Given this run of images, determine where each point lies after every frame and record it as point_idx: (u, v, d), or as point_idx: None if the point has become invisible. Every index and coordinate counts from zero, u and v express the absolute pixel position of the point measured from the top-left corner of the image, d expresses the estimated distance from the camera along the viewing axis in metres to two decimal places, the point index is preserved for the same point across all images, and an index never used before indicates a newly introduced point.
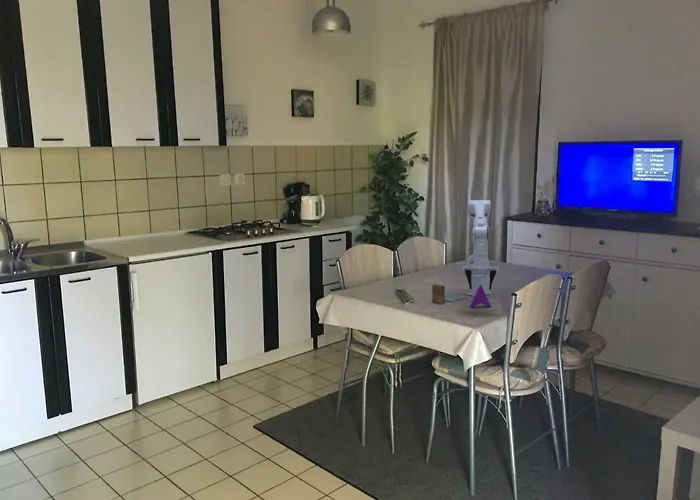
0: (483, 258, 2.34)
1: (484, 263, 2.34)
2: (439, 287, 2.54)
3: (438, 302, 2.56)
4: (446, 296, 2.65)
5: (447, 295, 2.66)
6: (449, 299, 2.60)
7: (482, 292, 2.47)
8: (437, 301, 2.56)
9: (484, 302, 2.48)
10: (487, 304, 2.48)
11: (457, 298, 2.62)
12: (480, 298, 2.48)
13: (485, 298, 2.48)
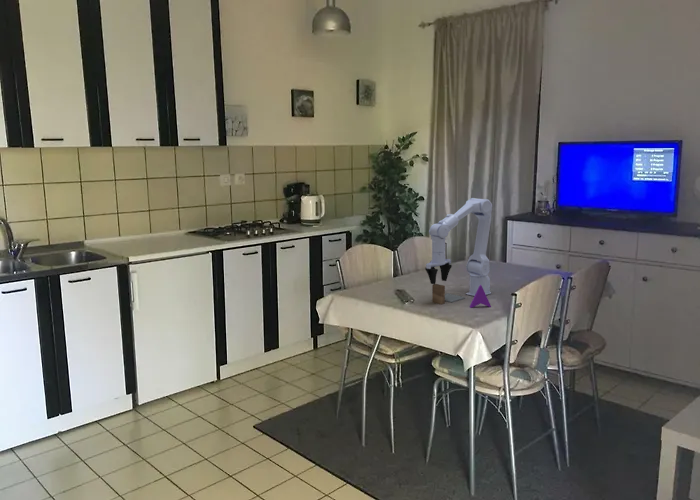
0: None
1: (432, 258, 2.54)
2: (439, 287, 2.54)
3: (438, 302, 2.56)
4: (446, 296, 2.65)
5: (447, 295, 2.66)
6: (449, 299, 2.60)
7: (482, 292, 2.47)
8: (437, 301, 2.56)
9: (484, 302, 2.48)
10: (487, 304, 2.48)
11: (457, 298, 2.62)
12: (480, 298, 2.48)
13: (485, 298, 2.48)
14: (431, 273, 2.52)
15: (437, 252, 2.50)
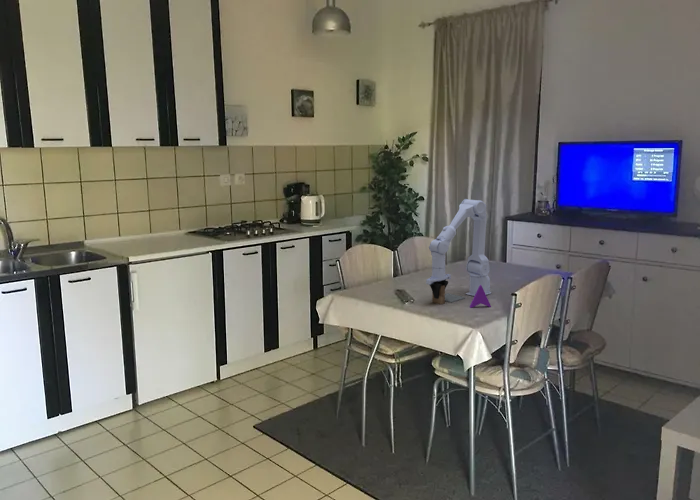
0: None
1: (432, 274, 2.55)
2: None
3: (438, 302, 2.56)
4: (446, 296, 2.65)
5: (447, 295, 2.66)
6: (449, 299, 2.60)
7: (482, 292, 2.47)
8: (437, 301, 2.56)
9: (484, 302, 2.48)
10: (487, 304, 2.48)
11: (457, 298, 2.62)
12: (480, 298, 2.48)
13: (485, 298, 2.48)
14: (434, 288, 2.55)
15: (437, 268, 2.52)
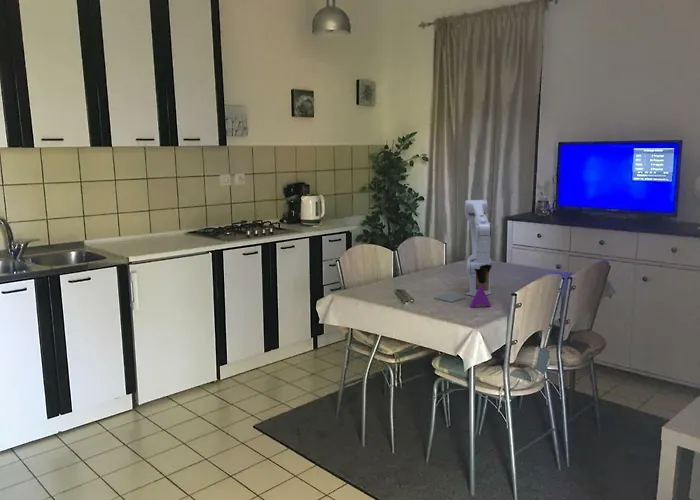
0: (476, 253, 2.51)
1: (476, 258, 2.51)
2: None
3: (483, 289, 2.52)
4: (446, 296, 2.65)
5: (447, 295, 2.66)
6: (449, 299, 2.60)
7: (482, 292, 2.47)
8: None
9: (484, 302, 2.48)
10: (487, 304, 2.48)
11: (457, 298, 2.62)
12: (480, 298, 2.48)
13: (485, 298, 2.48)
14: (480, 272, 2.51)
15: (484, 252, 2.48)
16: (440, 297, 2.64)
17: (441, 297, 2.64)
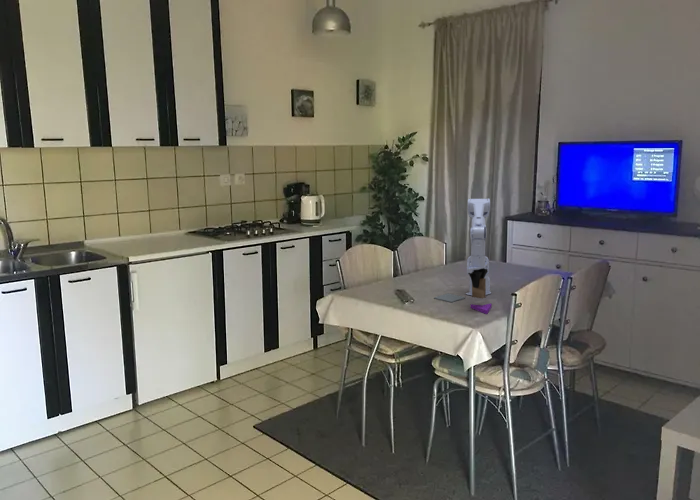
0: (471, 257, 2.44)
1: (471, 262, 2.44)
2: (480, 280, 2.43)
3: (479, 296, 2.44)
4: (446, 296, 2.65)
5: (447, 295, 2.66)
6: (449, 299, 2.60)
7: None
8: (478, 295, 2.44)
9: None
10: None
11: (457, 298, 2.62)
12: None
13: None
14: (474, 276, 2.43)
15: (477, 255, 2.40)
16: (440, 297, 2.64)
17: (441, 297, 2.64)
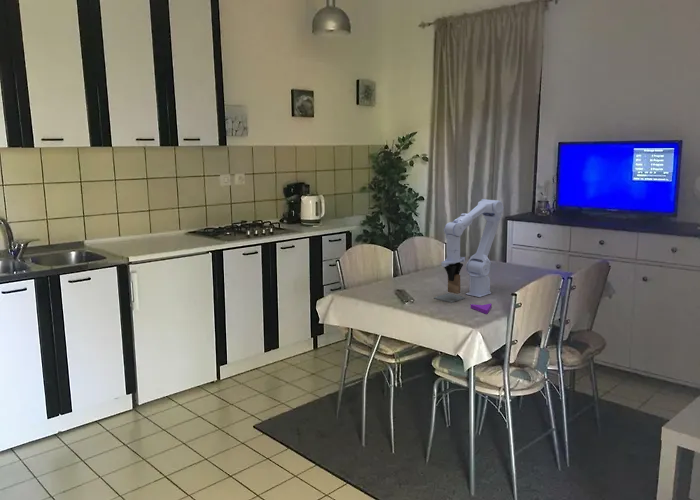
0: (447, 251, 2.57)
1: None
2: (455, 276, 2.56)
3: (454, 291, 2.58)
4: (446, 296, 2.65)
5: (447, 295, 2.66)
6: (449, 299, 2.60)
7: None
8: (452, 291, 2.58)
9: None
10: None
11: (457, 298, 2.62)
12: None
13: None
14: (449, 270, 2.57)
15: (452, 250, 2.53)
16: (440, 297, 2.64)
17: (441, 297, 2.64)
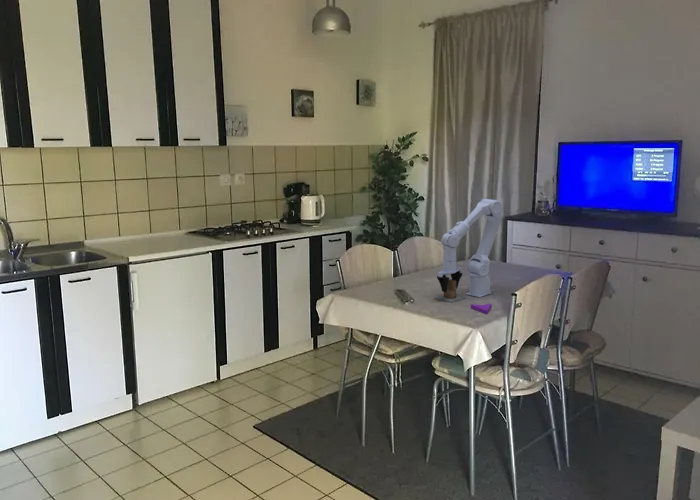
0: None
1: (443, 267, 2.62)
2: (451, 282, 2.60)
3: (449, 296, 2.62)
4: None
5: None
6: (449, 299, 2.60)
7: None
8: (448, 296, 2.62)
9: None
10: None
11: (457, 298, 2.62)
12: None
13: None
14: (442, 281, 2.60)
15: (448, 261, 2.58)
16: (440, 297, 2.64)
17: (441, 297, 2.64)
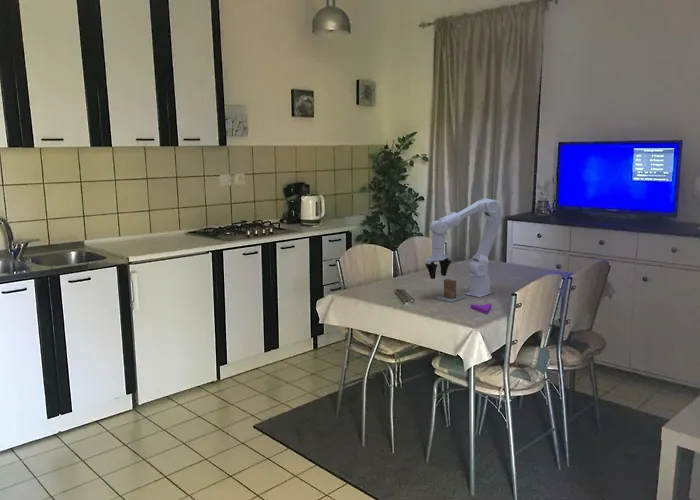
0: None
1: None
2: (451, 282, 2.60)
3: (449, 296, 2.62)
4: None
5: None
6: (449, 299, 2.60)
7: None
8: (448, 296, 2.62)
9: None
10: None
11: (457, 298, 2.62)
12: None
13: None
14: (431, 268, 2.61)
15: (437, 248, 2.59)
16: (440, 297, 2.64)
17: (441, 297, 2.64)
